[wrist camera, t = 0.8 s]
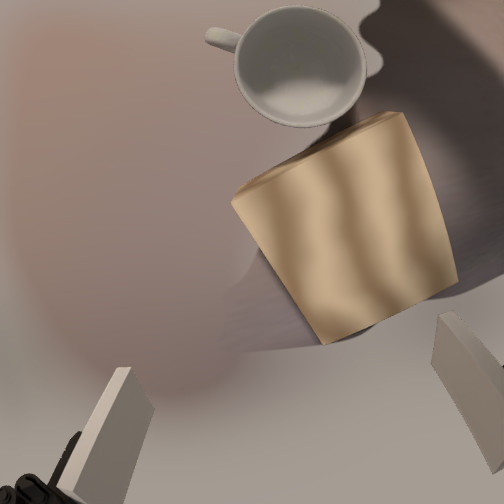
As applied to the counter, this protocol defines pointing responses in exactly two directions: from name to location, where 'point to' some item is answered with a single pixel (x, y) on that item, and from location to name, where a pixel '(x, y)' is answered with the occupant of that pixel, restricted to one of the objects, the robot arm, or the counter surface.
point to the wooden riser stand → (352, 226)
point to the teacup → (296, 65)
